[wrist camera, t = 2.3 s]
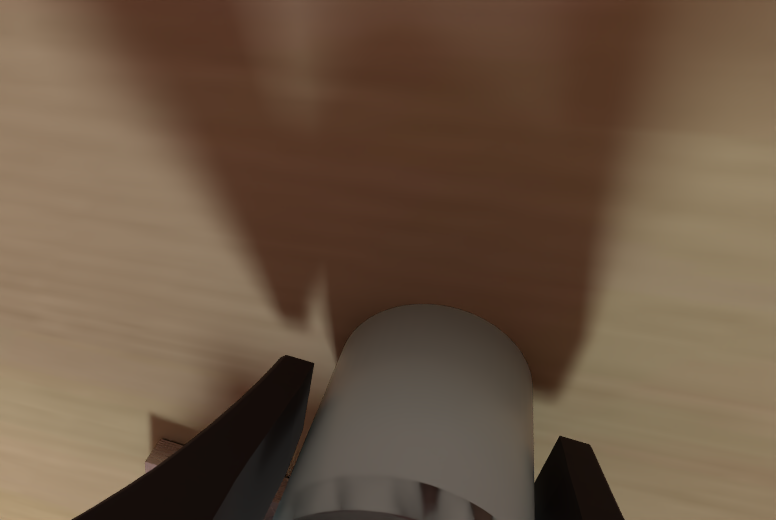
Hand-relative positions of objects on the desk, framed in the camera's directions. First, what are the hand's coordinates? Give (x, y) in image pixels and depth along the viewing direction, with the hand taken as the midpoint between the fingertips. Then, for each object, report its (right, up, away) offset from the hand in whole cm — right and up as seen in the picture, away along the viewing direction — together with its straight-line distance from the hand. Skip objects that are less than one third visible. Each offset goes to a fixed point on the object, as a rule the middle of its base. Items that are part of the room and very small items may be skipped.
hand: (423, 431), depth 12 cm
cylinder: (0, +1, +1) cm, 2 cm away
